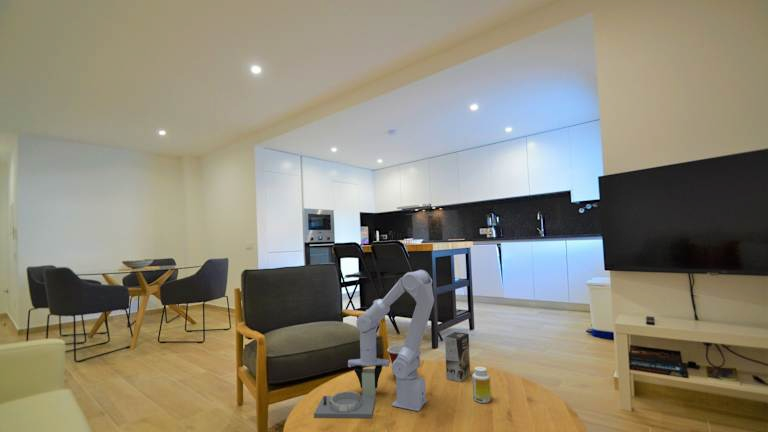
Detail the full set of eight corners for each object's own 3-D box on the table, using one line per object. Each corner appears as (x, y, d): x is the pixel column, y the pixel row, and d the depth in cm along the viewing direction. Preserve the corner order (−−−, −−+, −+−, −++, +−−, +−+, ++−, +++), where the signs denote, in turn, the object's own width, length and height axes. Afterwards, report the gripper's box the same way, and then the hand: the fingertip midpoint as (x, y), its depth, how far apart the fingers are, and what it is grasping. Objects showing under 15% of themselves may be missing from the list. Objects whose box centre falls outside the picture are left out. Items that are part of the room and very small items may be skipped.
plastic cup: (390, 372, 142) (389, 342, 143) (416, 373, 140) (415, 343, 141) (385, 383, 132) (384, 351, 132) (413, 385, 129) (412, 352, 130)
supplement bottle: (494, 401, 115) (492, 370, 115) (479, 405, 113) (478, 372, 113) (483, 394, 120) (482, 364, 120) (470, 397, 118) (468, 367, 119)
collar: (363, 397, 118) (363, 389, 118) (359, 412, 108) (359, 404, 108) (327, 397, 119) (327, 389, 119) (319, 412, 109) (319, 403, 109)
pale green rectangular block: (376, 391, 125) (375, 368, 126) (374, 397, 120) (374, 373, 121) (364, 391, 125) (363, 368, 126) (362, 397, 121) (361, 373, 121)
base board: (375, 399, 118) (375, 396, 118) (371, 418, 106) (371, 414, 106) (323, 399, 120) (323, 395, 120) (313, 417, 108) (313, 413, 108)
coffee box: (461, 382, 130) (459, 338, 131) (445, 378, 134) (444, 336, 135) (471, 374, 138) (469, 333, 139) (456, 371, 141) (454, 331, 142)
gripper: (389, 344, 127) (390, 382, 126) (350, 344, 128) (351, 382, 128) (387, 350, 120) (389, 391, 119) (346, 350, 121) (347, 390, 121)
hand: (369, 387), depth 123 cm, fingers closed on pale green rectangular block, 4 cm apart
